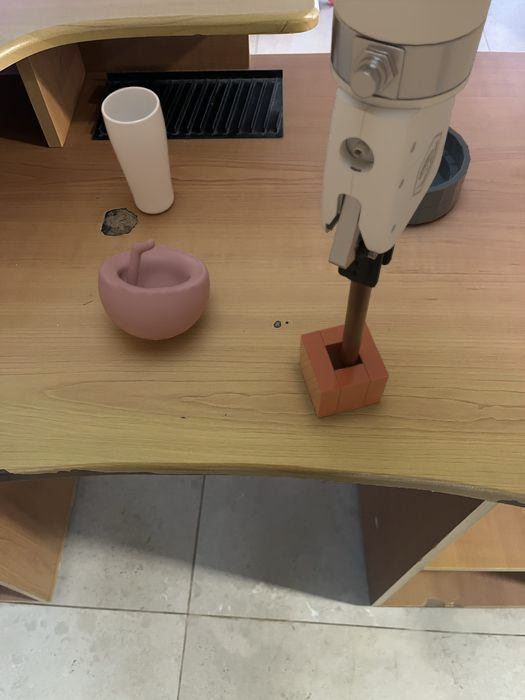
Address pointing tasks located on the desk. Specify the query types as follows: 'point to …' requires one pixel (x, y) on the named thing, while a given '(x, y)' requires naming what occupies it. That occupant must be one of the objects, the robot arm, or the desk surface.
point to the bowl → (445, 180)
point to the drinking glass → (140, 146)
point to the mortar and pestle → (154, 290)
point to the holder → (341, 372)
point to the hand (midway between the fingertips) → (364, 266)
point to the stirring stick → (354, 322)
